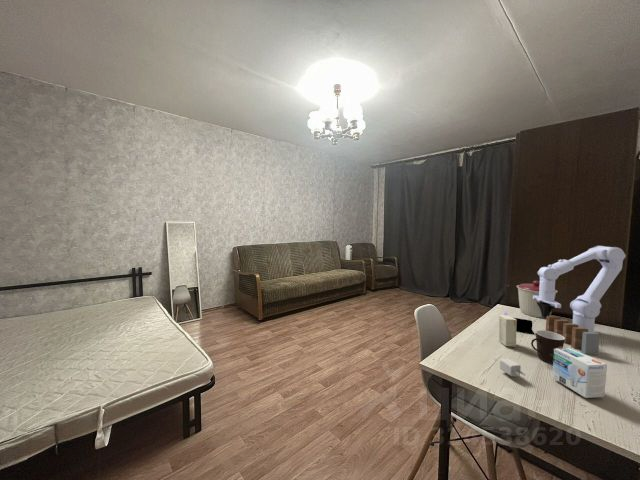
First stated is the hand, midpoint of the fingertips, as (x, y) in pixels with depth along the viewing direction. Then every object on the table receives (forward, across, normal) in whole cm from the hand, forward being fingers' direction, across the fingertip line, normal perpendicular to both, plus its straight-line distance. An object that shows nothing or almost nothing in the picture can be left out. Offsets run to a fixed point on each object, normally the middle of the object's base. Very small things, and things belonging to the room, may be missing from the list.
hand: (545, 317), depth 125 cm
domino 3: (+7, +14, 0) cm, 15 cm away
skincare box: (+7, +16, -29) cm, 33 cm away
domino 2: (+7, +9, 0) cm, 11 cm away
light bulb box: (+7, +46, -26) cm, 53 cm away
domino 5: (+7, +23, 0) cm, 24 cm away
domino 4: (+7, +18, 0) cm, 19 cm away
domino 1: (+7, +5, 0) cm, 8 cm away
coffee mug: (+7, +28, -22) cm, 36 cm away
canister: (+7, -22, +12) cm, 26 cm away
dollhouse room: (+8, -2, -12) cm, 14 cm away
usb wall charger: (+7, +40, -42) cm, 59 cm away
